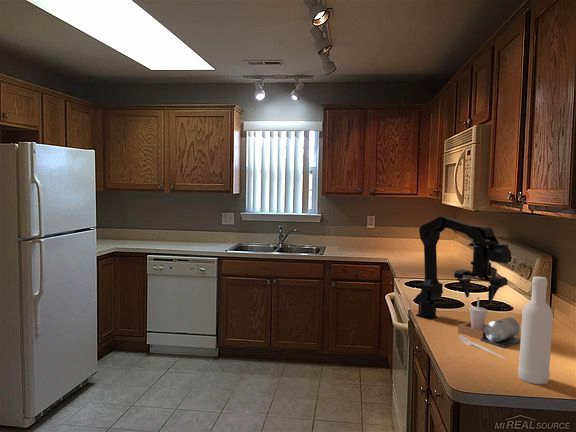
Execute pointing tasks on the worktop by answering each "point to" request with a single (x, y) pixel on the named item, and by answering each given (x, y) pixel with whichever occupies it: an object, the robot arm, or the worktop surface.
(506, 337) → the motor unit
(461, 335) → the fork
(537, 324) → the bottle
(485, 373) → the worktop surface
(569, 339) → the worktop surface
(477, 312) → the white cup with straw
